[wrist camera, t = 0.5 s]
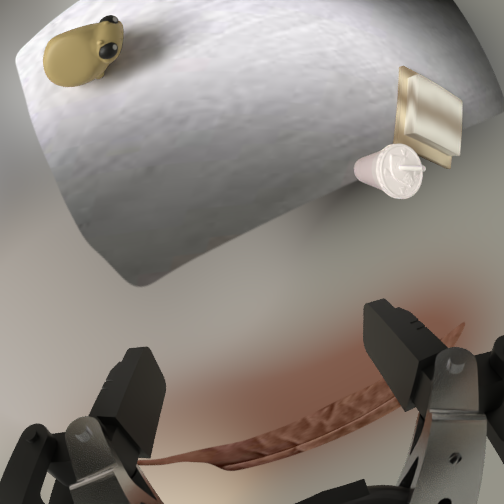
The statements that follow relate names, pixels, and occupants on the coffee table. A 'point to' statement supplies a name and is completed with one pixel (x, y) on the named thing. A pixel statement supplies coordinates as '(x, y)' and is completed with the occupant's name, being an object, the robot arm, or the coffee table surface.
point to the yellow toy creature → (83, 52)
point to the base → (427, 118)
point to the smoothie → (392, 170)
